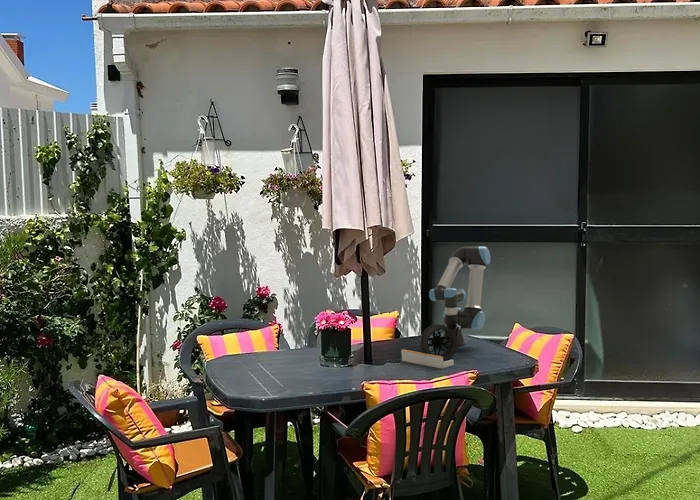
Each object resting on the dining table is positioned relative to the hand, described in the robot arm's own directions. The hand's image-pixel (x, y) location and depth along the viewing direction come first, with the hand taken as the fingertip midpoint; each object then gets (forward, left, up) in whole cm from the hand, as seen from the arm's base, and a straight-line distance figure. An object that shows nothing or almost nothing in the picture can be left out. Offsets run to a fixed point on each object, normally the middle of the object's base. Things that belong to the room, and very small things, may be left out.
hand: (452, 352), depth 389 cm
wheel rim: (+12, 0, -2) cm, 12 cm away
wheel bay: (+23, 0, -2) cm, 23 cm away
